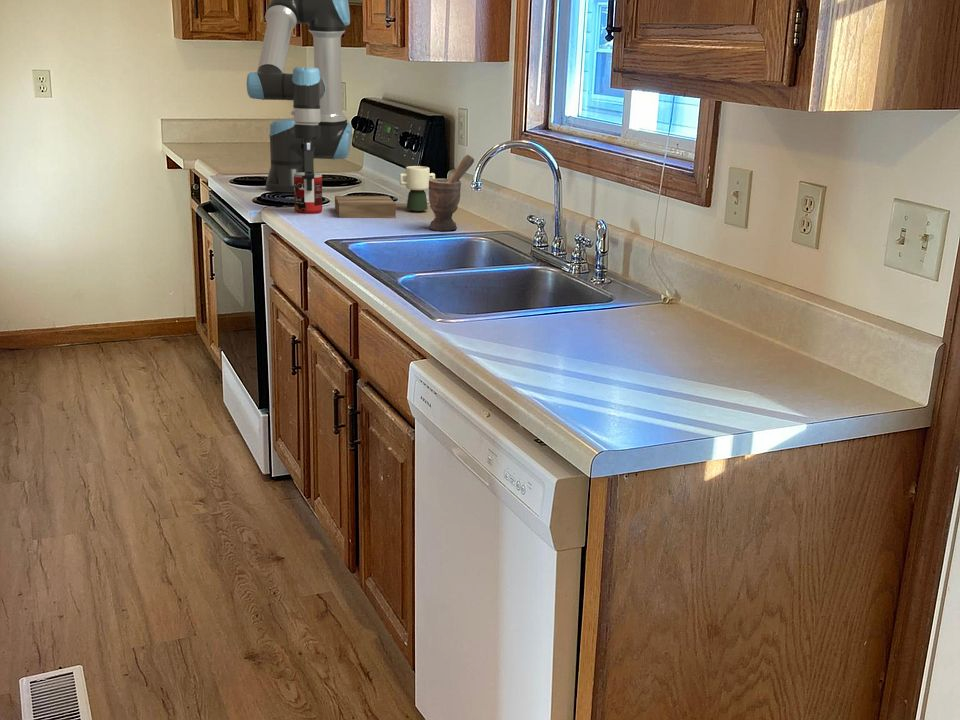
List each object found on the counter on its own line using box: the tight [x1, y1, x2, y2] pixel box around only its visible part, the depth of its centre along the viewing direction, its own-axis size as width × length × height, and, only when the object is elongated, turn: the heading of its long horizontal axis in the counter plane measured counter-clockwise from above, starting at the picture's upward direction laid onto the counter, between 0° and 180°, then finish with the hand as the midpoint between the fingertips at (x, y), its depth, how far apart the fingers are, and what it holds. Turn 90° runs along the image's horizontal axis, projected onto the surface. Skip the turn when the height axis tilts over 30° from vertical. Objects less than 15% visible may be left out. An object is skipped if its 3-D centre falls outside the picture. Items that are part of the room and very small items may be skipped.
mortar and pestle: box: [428, 154, 475, 232], centre depth 268 cm, size 12×9×20 cm
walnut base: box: [334, 195, 397, 219], centre depth 292 cm, size 16×16×4 cm
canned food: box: [293, 172, 323, 215], centre depth 290 cm, size 8×8×11 cm
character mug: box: [399, 165, 436, 212], centre depth 297 cm, size 11×7×13 cm, turn 110°
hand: (308, 199), depth 290 cm, fingers open, 13 cm apart
